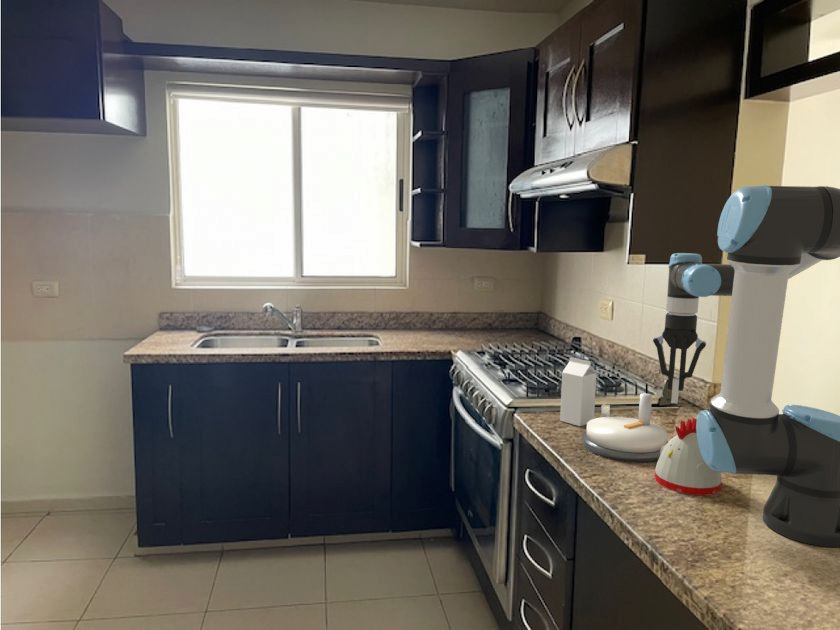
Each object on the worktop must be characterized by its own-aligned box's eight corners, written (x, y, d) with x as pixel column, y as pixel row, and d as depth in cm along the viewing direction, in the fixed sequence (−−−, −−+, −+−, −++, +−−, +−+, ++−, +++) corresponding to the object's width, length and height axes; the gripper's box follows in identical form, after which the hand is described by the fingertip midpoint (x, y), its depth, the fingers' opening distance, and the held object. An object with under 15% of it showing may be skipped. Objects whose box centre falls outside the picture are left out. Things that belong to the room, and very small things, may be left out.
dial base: (665, 469, 147) (668, 440, 146) (573, 453, 157) (575, 426, 156) (673, 438, 170) (675, 413, 169) (592, 426, 179) (593, 402, 178)
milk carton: (580, 427, 178) (583, 363, 176) (559, 421, 183) (562, 358, 181) (593, 422, 183) (597, 359, 180) (573, 416, 188) (576, 355, 186)
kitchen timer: (641, 474, 144) (646, 412, 142) (688, 467, 149) (692, 407, 147) (685, 499, 131) (691, 431, 129) (735, 490, 136) (741, 425, 134)
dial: (633, 458, 148) (635, 414, 146) (570, 434, 164) (572, 395, 163) (682, 443, 159) (685, 402, 157) (618, 422, 175) (621, 385, 174)
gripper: (709, 313, 159) (702, 401, 162) (656, 309, 164) (649, 395, 168) (709, 317, 152) (701, 409, 155) (653, 313, 158) (646, 402, 161)
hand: (674, 401), depth 162 cm, fingers closed
